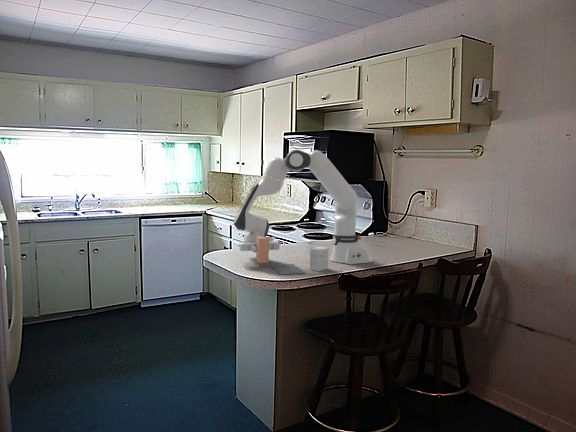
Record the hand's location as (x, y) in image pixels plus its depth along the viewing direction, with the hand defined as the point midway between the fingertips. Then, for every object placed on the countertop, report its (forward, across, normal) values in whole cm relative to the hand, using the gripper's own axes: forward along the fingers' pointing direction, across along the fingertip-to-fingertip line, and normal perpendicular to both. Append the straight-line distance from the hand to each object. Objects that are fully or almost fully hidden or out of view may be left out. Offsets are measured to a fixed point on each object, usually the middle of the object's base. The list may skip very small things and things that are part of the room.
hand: (262, 248), depth 237 cm
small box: (+7, +27, +10) cm, 29 cm away
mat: (+6, +11, +10) cm, 16 cm away
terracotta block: (-1, 0, +6) cm, 7 cm away
